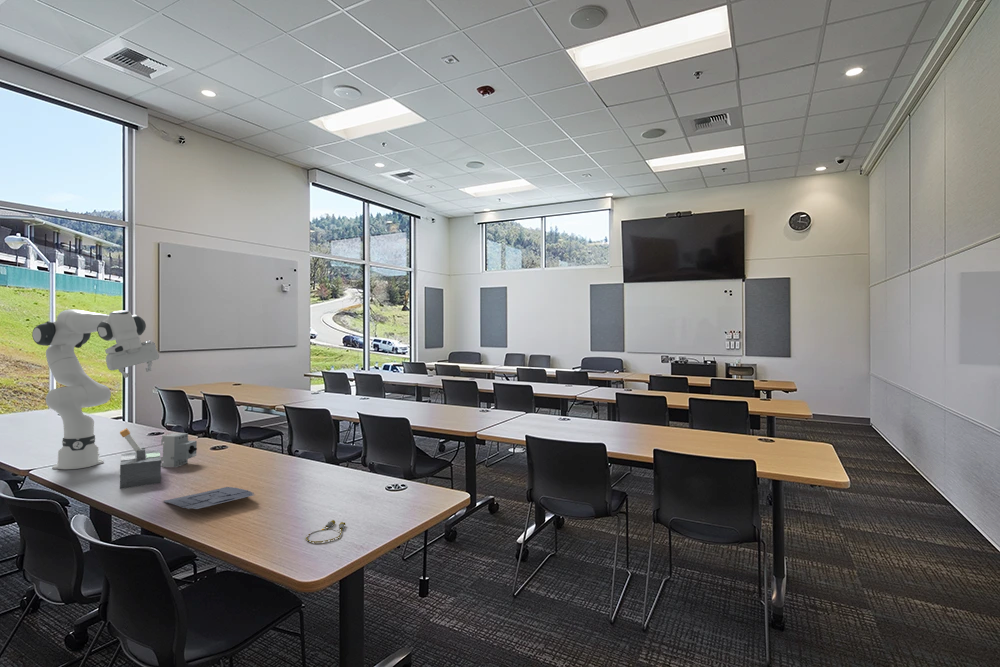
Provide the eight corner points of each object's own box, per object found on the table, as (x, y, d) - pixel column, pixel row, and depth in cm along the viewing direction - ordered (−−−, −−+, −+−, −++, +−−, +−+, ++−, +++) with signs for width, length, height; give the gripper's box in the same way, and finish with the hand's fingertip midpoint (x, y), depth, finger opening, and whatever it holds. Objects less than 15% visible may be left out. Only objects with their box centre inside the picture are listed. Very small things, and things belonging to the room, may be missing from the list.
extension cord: (358, 531, 166) (358, 525, 166) (320, 548, 153) (320, 542, 153) (334, 523, 173) (335, 518, 173) (295, 539, 159) (295, 533, 159)
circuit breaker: (189, 467, 237) (190, 436, 237) (160, 466, 237) (161, 435, 237) (199, 463, 244) (200, 433, 244) (171, 462, 245) (172, 432, 245)
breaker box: (121, 475, 222) (121, 446, 222) (158, 471, 230) (159, 442, 230) (119, 488, 204) (120, 456, 204) (160, 483, 212) (161, 452, 212)
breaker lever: (139, 456, 218) (119, 431, 214) (145, 452, 219) (126, 428, 215) (139, 458, 215) (119, 433, 211) (145, 454, 217) (126, 429, 213)
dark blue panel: (190, 518, 171) (190, 508, 171) (162, 508, 190) (162, 498, 190) (260, 500, 190) (260, 491, 190) (228, 493, 209) (228, 484, 209)
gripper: (150, 340, 234) (158, 368, 236) (100, 351, 216) (109, 381, 218) (157, 339, 231) (165, 367, 233) (107, 350, 213) (116, 380, 215)
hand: (138, 374), depth 225 cm, fingers open, 8 cm apart
